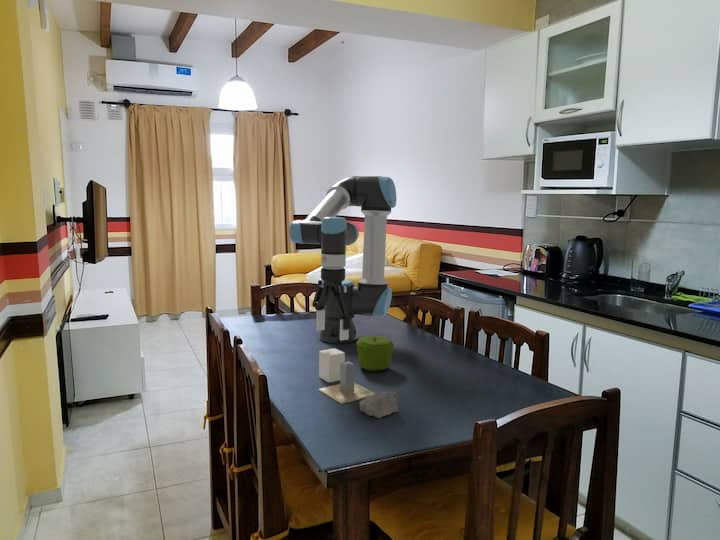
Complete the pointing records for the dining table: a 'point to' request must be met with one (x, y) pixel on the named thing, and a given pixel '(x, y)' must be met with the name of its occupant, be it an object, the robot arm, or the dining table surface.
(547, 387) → the dining table surface
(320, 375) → the cream cuboid
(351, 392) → the square base with post
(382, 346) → the green apple
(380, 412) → the stone
